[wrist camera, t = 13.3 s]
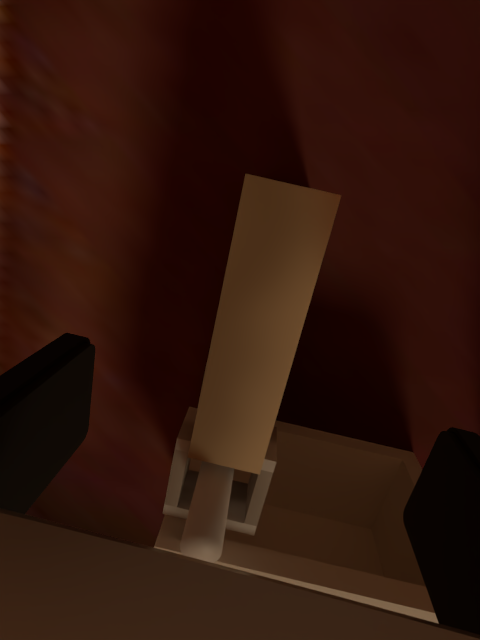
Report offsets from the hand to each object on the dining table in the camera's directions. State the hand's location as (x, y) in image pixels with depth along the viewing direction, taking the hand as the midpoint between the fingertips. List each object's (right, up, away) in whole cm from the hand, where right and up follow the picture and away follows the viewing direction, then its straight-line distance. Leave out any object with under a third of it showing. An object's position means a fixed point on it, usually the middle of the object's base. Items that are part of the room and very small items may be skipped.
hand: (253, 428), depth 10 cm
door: (+1, +4, +15) cm, 16 cm away
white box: (+4, -7, +19) cm, 21 cm away
